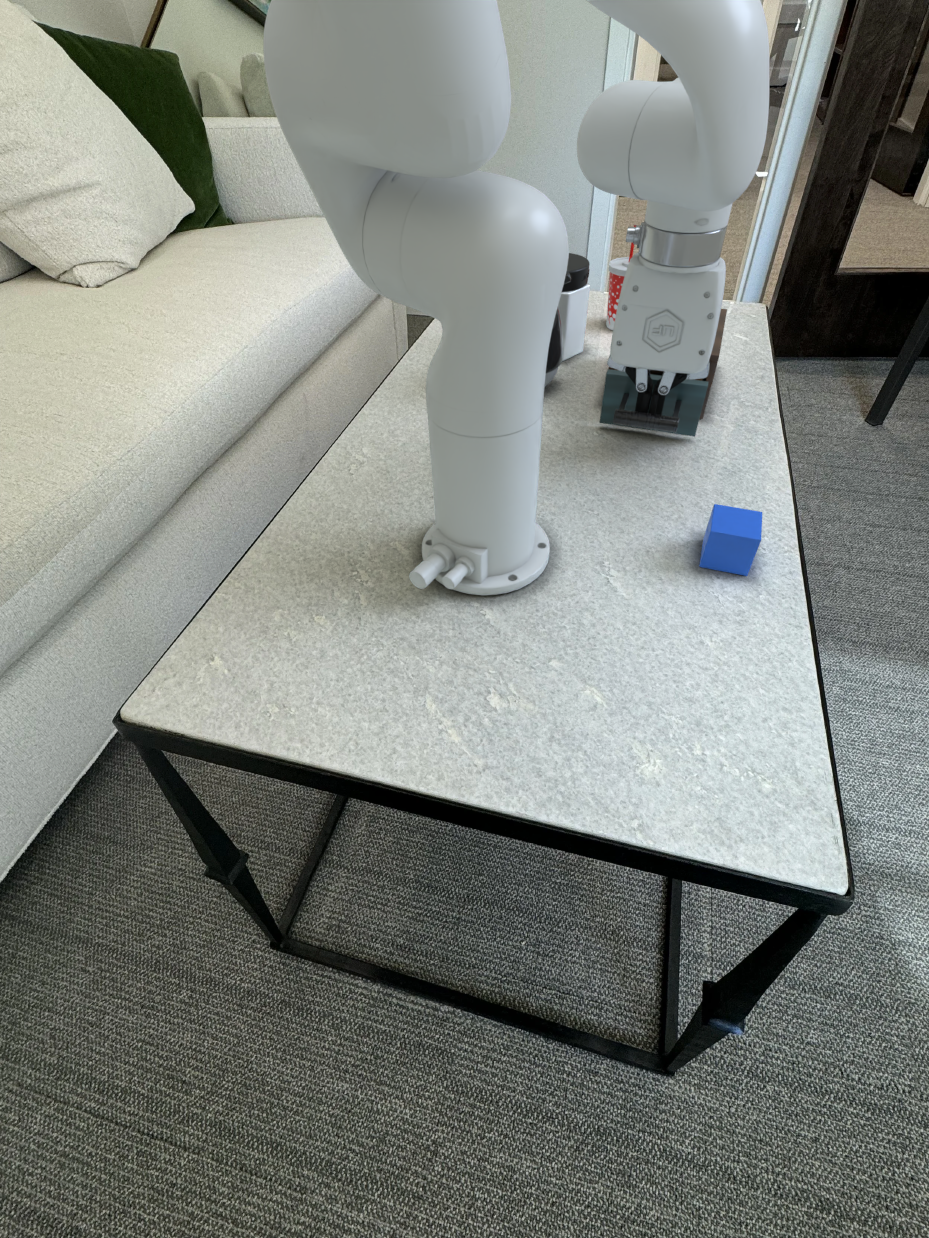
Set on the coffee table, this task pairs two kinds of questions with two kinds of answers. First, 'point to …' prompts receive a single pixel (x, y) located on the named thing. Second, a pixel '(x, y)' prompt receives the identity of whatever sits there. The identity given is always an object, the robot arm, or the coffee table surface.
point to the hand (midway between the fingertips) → (646, 420)
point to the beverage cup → (616, 285)
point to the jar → (574, 306)
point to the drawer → (677, 409)
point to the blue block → (731, 539)
